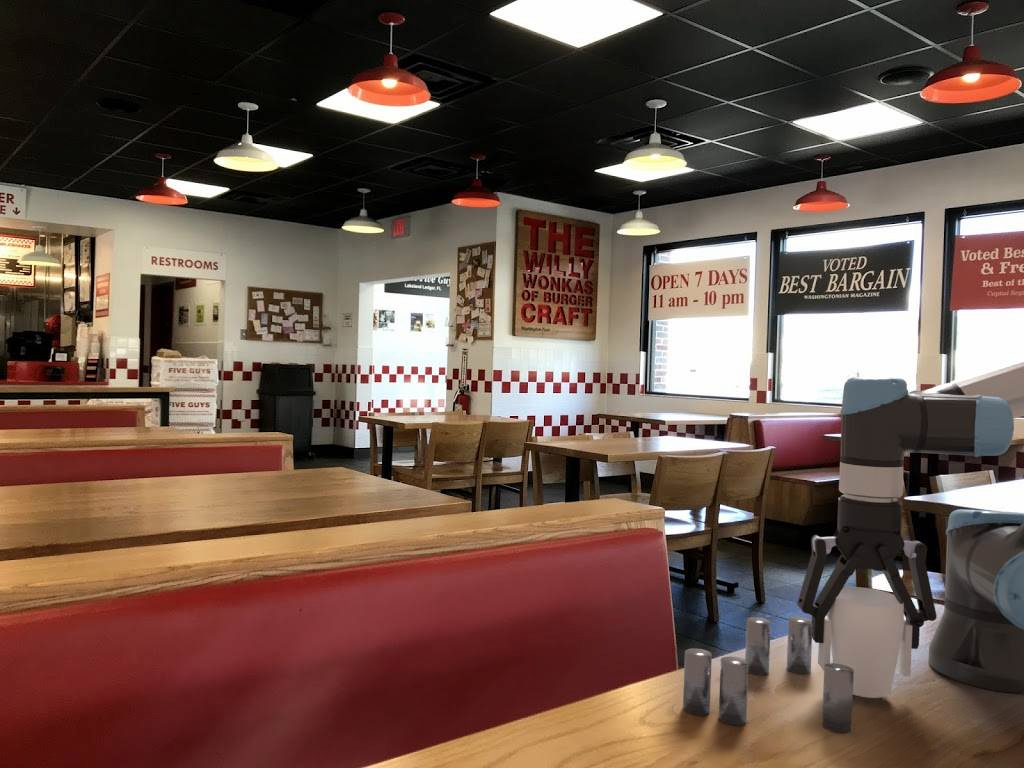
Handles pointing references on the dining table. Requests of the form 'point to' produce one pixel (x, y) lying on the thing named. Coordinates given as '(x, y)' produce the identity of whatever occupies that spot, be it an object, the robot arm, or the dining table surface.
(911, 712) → the dining table surface
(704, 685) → the posts
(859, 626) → the cup
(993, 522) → the robot arm
